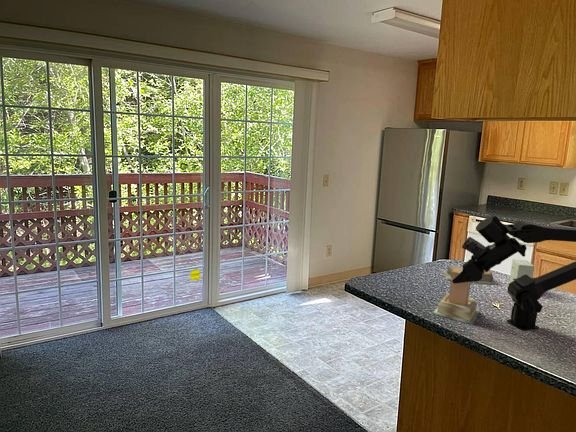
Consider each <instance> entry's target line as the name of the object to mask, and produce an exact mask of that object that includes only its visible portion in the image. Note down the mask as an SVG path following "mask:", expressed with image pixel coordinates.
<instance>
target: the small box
mask: <svg viewBox="0 0 576 432" xmlns="http://www.w3.org/2000/svg"><path fill="white" fill-rule="evenodd" d="M534 271H535V265H533V264H532V263H531V262H530V261H529V260H524V259H517V258H516V259H512V262H511V268H510V275H509V282H508V285H509V284H510V283H511V282H512V281H514V280H513V279H517V278H519V277H521V276H523V275H528V276H529V277H531V278H534V273H535V272H534Z"/></svg>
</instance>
